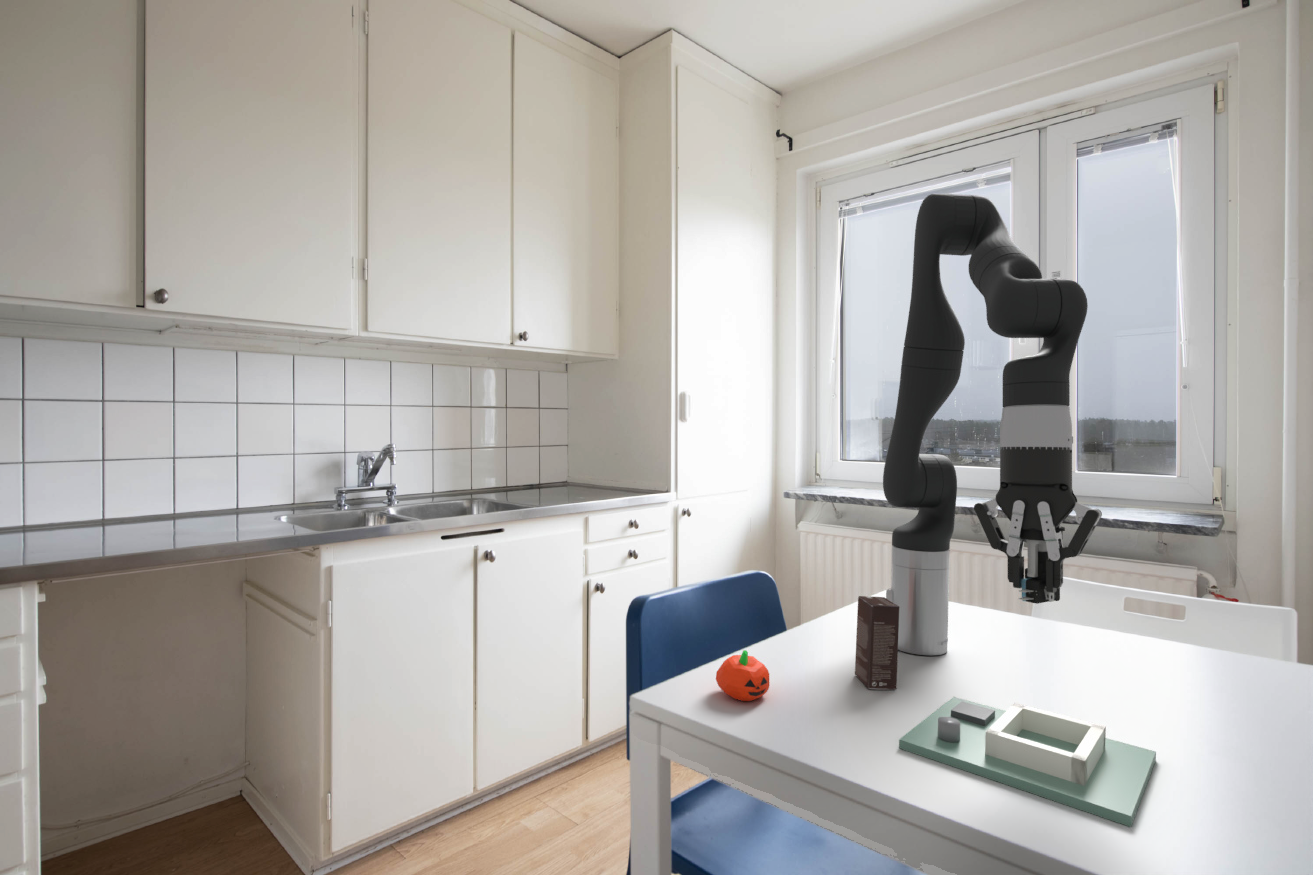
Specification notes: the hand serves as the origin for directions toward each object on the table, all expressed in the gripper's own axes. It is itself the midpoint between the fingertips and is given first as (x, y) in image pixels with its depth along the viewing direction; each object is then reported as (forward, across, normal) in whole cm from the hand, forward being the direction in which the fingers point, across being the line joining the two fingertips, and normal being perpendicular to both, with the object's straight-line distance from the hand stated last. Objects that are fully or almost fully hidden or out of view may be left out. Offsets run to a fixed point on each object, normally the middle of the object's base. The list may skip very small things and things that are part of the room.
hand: (1035, 588), depth 80 cm
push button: (+2, 0, +1) cm, 2 cm away
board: (+18, 0, -4) cm, 19 cm away
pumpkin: (+18, -33, -13) cm, 40 cm away
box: (+18, -22, +5) cm, 29 cm away
